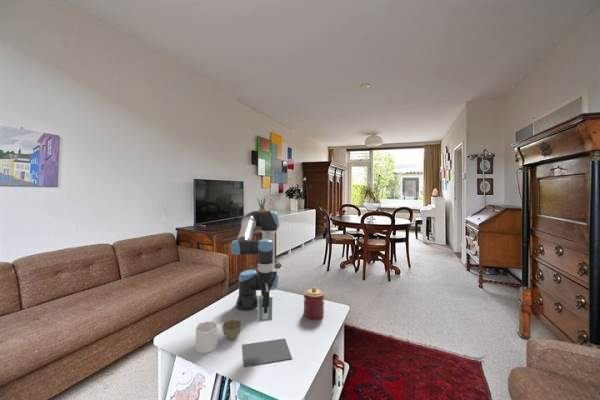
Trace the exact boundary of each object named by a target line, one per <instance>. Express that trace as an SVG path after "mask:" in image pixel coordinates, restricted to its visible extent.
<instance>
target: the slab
mask: <svg viewBox="0 0 600 400" xmlns="http://www.w3.org/2000/svg"><path fill="white" fill-rule="evenodd" d="M257 297H258V307H257V322H258V323H263V322H269V321H273V295H272V294H271V293H270V294H269V307H268V319H263V307H262V305H263V295H261V294H260V295H257Z"/></svg>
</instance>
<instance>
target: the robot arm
mask: <svg viewBox="0 0 600 400" xmlns="http://www.w3.org/2000/svg"><path fill="white" fill-rule="evenodd" d="M240 224H241V225H240V226H241V227H240V230H239V233H238V236H237V239H236V240H235V239H234V240H232V241H231V244H230V252H231V254H232V255H238V256H239V255H257V264H256V267H257V270H258V271H257V270H255V269H247V270H244V271H242V272H240V274H239V277H238V297H237V299H236V303H235V308H236V309H238V310H240V311H251V310H255V309H258V295H257V291H260V296H261V295H263V305H262V307H263V319H268V307H269V295H270V291H275V290H276V289H277V288H278V282H279V275H280V273H279V272H278V270H277V269H276V267H275V258H276V257H275V256H276V255H275V251H276V250H275V249H276V248H275V247H276V246H275V245H276V232H277V231H278V229H279V228H280V221H279V215H278V212H277V211H275V210H254V211H250V212H249V213H247V214H246V215H244V217H243V218H242V219H241V223H240ZM254 229H259V231H260V232H261V233H262V234H261V235H262V237H261V239H256V240H255V239H252V238H253V233H254Z"/></svg>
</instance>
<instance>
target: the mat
mask: <svg viewBox="0 0 600 400" xmlns="http://www.w3.org/2000/svg"><path fill="white" fill-rule="evenodd" d="M292 359H293V357H292V354H291V352H290V348H289V346H288V343H287V340H286V338H279V339H272V340H267V341H265V340H264V341H257V342H252V343H244V344H242V360H243V361H242V362H243V368H248V367H253V366H255V367H256V366H259V365H260V366H261V365H265V364H271V363H279V362H282V361H290V360H292Z"/></svg>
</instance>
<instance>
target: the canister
mask: <svg viewBox="0 0 600 400" xmlns="http://www.w3.org/2000/svg"><path fill="white" fill-rule="evenodd" d="M304 293H305V294H304V295H303V299H304V300H303V316H304V317H305V318H306V319H309V320H313V321H314V320H316V321H317V320H319V319H322V318H323V317H324V314H325V311H324V310H325V306H324V305H325V301H324V299H325V296H324V294H323V293H324V292H323V291H322V290H320V289H319V288H316V287H314V286H313V287H312V288H308V289H307V290H305V292H304Z"/></svg>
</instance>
